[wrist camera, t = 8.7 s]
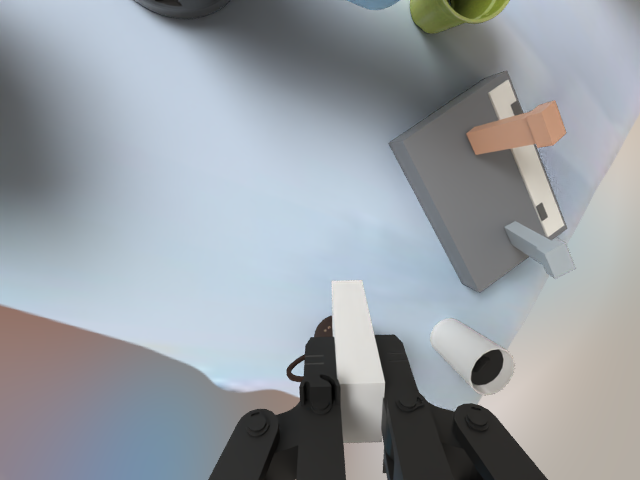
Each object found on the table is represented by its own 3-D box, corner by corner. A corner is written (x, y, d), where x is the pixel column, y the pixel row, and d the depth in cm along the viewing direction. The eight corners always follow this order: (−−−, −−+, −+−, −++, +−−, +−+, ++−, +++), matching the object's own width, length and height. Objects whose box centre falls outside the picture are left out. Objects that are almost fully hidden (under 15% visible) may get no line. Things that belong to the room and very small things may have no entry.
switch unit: (388, 143, 45) (404, 140, 41) (484, 78, 46) (509, 69, 42) (462, 283, 52) (482, 294, 48) (543, 224, 54) (570, 229, 49)
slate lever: (500, 226, 47) (544, 253, 38) (517, 217, 46) (565, 242, 37) (509, 247, 48) (555, 279, 39) (526, 239, 48) (576, 268, 39)
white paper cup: (422, 353, 53) (463, 394, 44) (433, 313, 52) (478, 345, 43) (459, 356, 55) (505, 396, 46) (470, 317, 54) (521, 350, 45)
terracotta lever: (463, 133, 42) (541, 112, 33) (475, 123, 43) (555, 100, 34) (474, 158, 43) (553, 145, 34) (486, 148, 44) (566, 132, 35)
